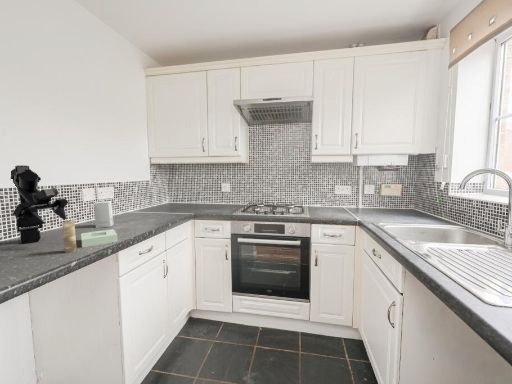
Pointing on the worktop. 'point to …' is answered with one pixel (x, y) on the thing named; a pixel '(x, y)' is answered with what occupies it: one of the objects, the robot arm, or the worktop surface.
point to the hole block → (98, 237)
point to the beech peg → (69, 236)
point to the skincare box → (103, 214)
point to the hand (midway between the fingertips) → (54, 221)
